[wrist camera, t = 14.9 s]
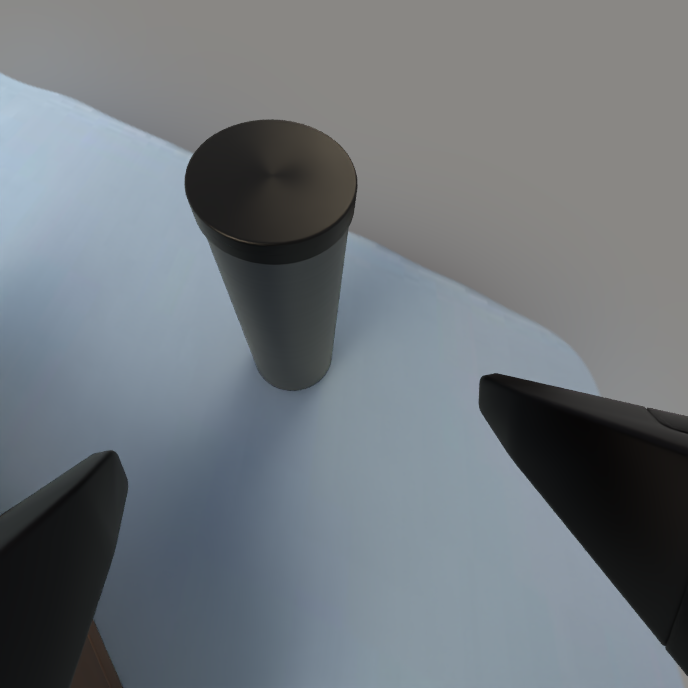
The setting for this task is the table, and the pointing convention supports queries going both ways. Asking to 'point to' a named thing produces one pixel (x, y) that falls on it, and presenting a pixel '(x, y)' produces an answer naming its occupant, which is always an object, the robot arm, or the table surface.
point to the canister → (277, 238)
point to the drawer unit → (95, 664)
